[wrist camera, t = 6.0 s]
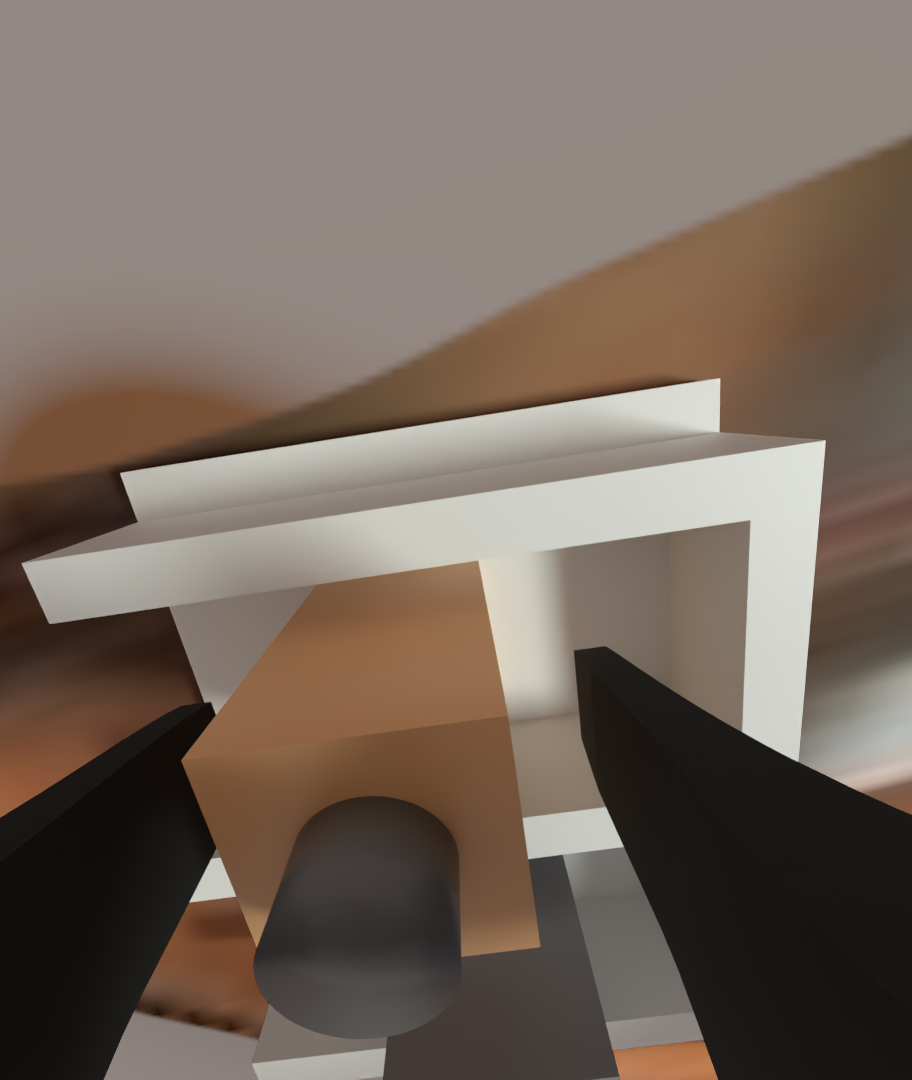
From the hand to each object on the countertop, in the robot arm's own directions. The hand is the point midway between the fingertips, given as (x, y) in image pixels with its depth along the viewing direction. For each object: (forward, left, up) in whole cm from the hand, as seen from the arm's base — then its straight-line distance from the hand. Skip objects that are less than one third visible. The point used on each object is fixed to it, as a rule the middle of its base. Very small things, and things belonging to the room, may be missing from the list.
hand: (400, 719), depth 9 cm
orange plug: (0, 0, -3) cm, 3 cm away
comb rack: (-4, -1, -4) cm, 5 cm away
